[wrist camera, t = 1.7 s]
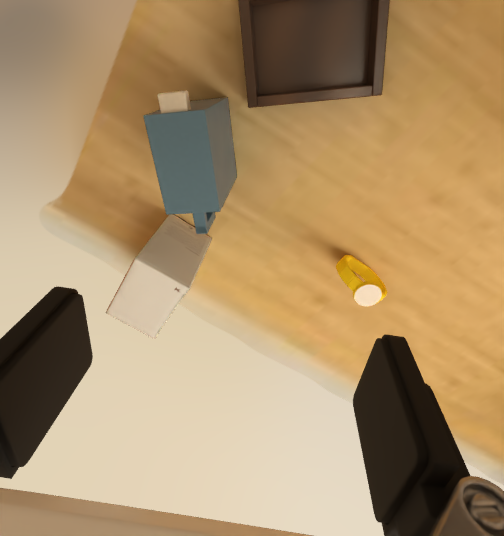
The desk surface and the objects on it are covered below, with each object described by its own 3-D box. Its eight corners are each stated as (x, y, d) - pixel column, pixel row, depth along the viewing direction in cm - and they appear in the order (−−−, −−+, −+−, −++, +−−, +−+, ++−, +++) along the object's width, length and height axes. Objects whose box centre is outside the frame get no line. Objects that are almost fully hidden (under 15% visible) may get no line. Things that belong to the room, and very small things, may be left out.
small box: (171, 211, 39) (134, 255, 30) (213, 237, 40) (191, 288, 31) (143, 261, 43) (102, 314, 34) (182, 284, 44) (154, 341, 35)
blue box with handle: (226, 82, 32) (201, 89, 23) (239, 199, 38) (224, 240, 29) (179, 87, 32) (138, 95, 24) (199, 201, 38) (172, 242, 30)
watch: (329, 260, 40) (334, 288, 35) (345, 243, 39) (353, 270, 34) (368, 287, 41) (378, 318, 36) (385, 271, 40) (398, 301, 35)
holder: (382, -24, 27) (392, -33, 24) (374, 92, 31) (382, 95, 28) (242, -4, 29) (237, -11, 26) (252, 104, 33) (248, 107, 30)
